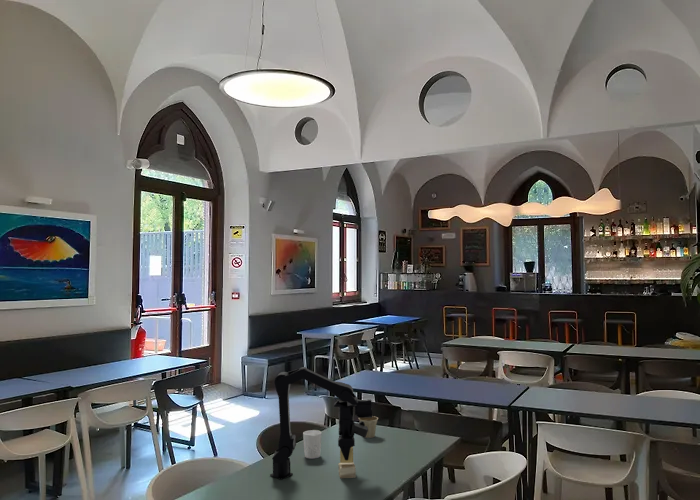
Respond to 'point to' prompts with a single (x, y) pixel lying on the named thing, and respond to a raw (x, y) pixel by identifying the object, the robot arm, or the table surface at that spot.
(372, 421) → the flower pot
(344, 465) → the birch base block
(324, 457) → the table surface
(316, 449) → the white cup
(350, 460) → the ochre block
